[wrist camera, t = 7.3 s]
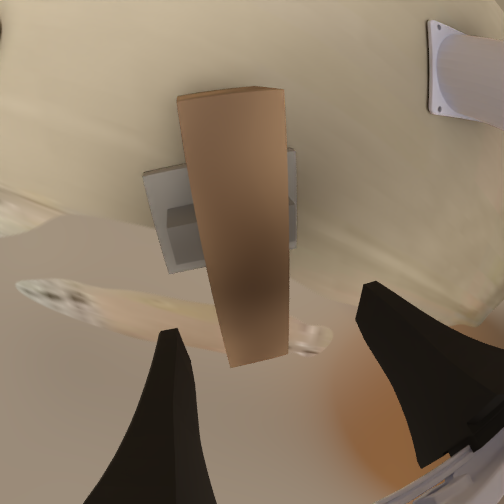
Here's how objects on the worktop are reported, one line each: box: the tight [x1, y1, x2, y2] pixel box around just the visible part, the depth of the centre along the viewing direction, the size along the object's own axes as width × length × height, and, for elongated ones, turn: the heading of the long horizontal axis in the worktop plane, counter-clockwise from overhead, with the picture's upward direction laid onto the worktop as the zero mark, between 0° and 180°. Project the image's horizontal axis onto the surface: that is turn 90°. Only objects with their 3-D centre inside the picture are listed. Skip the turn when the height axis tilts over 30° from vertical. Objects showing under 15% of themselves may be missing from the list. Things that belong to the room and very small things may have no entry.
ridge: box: [142, 148, 297, 274], centre depth 17 cm, size 9×7×3 cm
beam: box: [177, 86, 289, 368], centre depth 14 cm, size 4×14×4 cm, turn 4°
